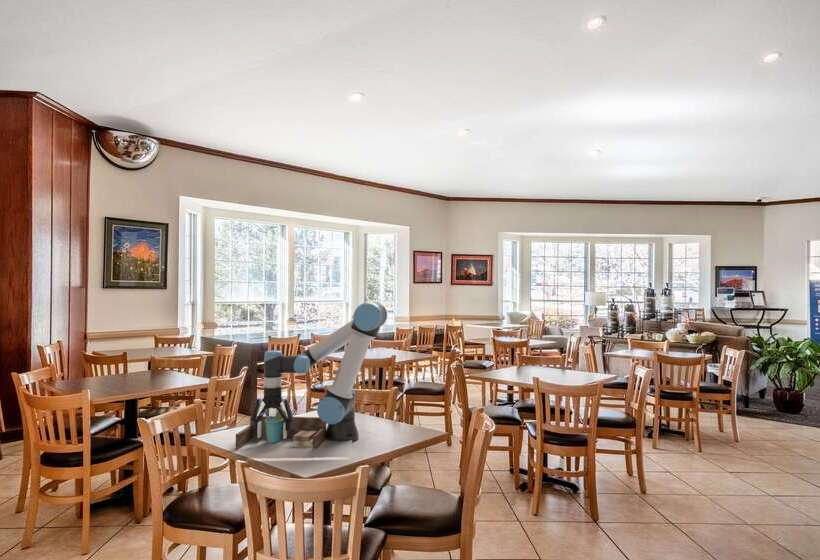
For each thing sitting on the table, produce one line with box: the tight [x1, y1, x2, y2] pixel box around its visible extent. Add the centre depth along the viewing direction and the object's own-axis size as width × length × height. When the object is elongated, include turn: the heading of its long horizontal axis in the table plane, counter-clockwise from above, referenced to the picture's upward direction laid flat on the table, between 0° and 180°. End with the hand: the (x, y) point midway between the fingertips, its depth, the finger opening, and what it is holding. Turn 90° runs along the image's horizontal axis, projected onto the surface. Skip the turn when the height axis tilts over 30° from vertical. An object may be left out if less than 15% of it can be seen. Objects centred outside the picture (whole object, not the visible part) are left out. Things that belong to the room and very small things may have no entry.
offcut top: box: [292, 430, 317, 442], centre depth 233 cm, size 7×10×2 cm
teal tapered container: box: [259, 410, 287, 444], centre depth 235 cm, size 14×8×15 cm, turn 148°
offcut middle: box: [292, 439, 313, 447], centre depth 233 cm, size 8×11×2 cm
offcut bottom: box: [290, 443, 313, 448], centre depth 233 cm, size 9×13×2 cm
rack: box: [235, 415, 327, 450], centre depth 235 cm, size 34×18×10 cm, turn 85°
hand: (272, 437), depth 235 cm, fingers open, 11 cm apart
